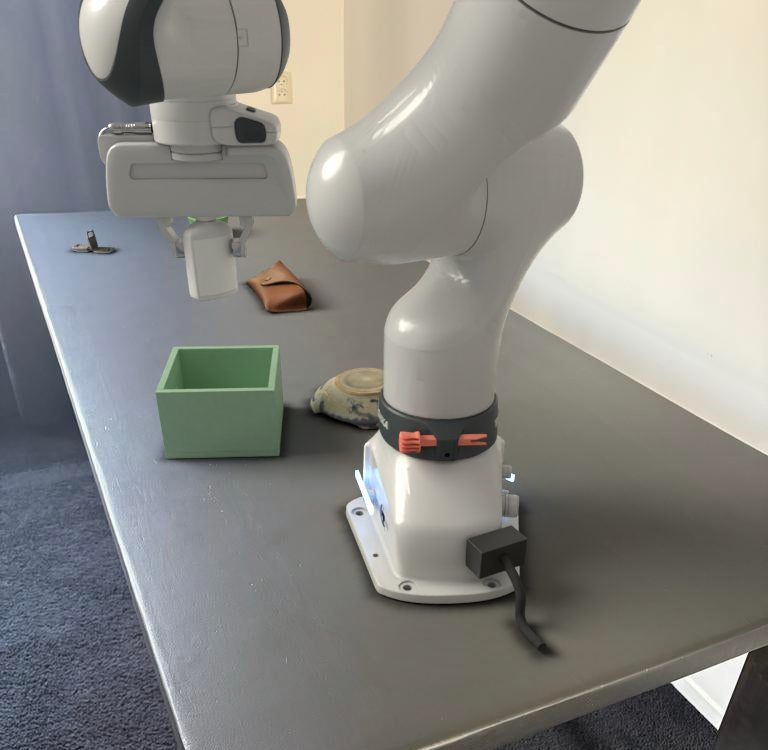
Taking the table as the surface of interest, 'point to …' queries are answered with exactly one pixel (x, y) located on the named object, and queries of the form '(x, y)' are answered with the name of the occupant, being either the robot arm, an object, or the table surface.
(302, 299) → the sunglasses case
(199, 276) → the eye dropper bottle
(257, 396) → the bin
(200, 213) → the robot arm
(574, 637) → the table surface
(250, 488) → the table surface
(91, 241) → the strap clip
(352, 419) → the decorative bowl
